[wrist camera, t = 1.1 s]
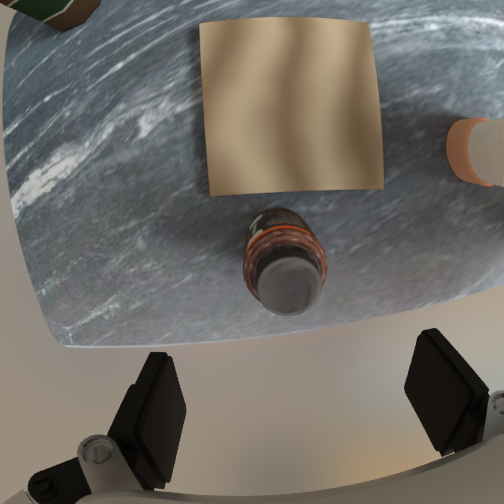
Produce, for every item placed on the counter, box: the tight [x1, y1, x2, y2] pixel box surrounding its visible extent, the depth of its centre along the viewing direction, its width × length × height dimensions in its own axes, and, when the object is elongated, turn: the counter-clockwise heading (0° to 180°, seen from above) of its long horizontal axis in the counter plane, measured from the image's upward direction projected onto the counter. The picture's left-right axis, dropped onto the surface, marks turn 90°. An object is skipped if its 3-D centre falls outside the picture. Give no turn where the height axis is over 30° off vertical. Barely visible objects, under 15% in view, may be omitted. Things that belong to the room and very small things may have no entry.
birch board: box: [199, 17, 384, 197], centre depth 24 cm, size 16×17×1 cm
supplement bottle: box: [243, 208, 328, 316], centre depth 23 cm, size 6×6×11 cm
